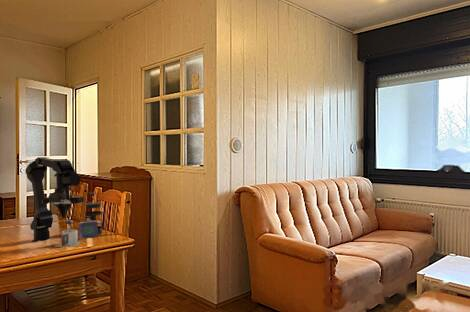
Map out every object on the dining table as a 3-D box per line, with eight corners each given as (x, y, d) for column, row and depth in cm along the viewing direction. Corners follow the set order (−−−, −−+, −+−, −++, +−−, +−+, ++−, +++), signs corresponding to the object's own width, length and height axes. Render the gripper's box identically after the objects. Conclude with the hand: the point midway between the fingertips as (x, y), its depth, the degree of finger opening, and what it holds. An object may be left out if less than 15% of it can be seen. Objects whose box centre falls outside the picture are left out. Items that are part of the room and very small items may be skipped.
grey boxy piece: (55, 246, 169) (55, 233, 169) (67, 242, 178) (66, 229, 178) (69, 247, 168) (69, 233, 168) (80, 242, 177) (79, 229, 177)
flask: (79, 240, 184) (79, 219, 184) (78, 239, 187) (78, 218, 187) (98, 238, 189) (97, 217, 189) (97, 237, 191) (97, 217, 191)
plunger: (63, 234, 172) (63, 221, 172) (68, 232, 176) (67, 220, 176) (71, 234, 172) (70, 221, 172) (75, 232, 176) (75, 220, 176)
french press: (83, 236, 193) (83, 193, 193) (82, 233, 202) (81, 192, 201) (106, 233, 199) (106, 192, 199) (104, 230, 207) (103, 191, 207)
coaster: (53, 247, 170) (53, 246, 170) (66, 242, 180) (65, 241, 180) (73, 248, 169) (73, 246, 169) (84, 242, 179) (84, 241, 179)
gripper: (34, 187, 167) (35, 220, 167) (71, 186, 165) (72, 220, 165) (49, 185, 178) (50, 216, 178) (84, 184, 176) (85, 216, 176)
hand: (63, 217), depth 174 cm, fingers closed
